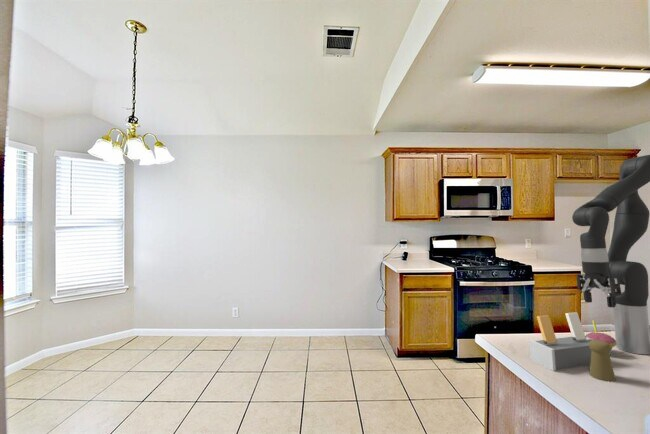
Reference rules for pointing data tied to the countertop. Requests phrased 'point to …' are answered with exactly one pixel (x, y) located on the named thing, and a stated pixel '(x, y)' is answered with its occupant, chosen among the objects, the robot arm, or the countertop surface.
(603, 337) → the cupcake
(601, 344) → the cork
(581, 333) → the rocker switch
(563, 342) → the switch box
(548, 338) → the outlet rocker
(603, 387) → the countertop surface
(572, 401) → the countertop surface
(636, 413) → the countertop surface
